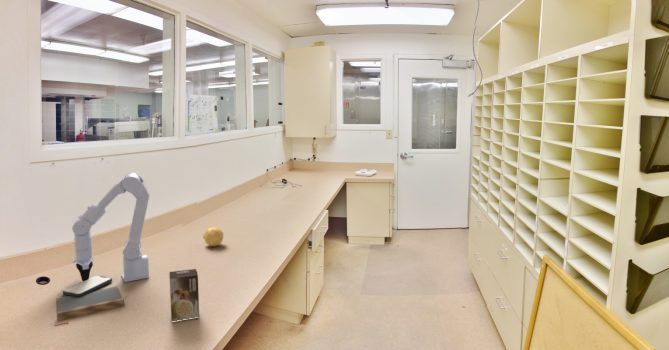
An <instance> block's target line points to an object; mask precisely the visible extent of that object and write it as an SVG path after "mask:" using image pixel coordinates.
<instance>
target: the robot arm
mask: <svg viewBox="0 0 669 350" xmlns="http://www.w3.org/2000/svg"><path fill="white" fill-rule="evenodd" d="M146 186H147V185H146V184H145V182H144V179H143V178H142V177H141V176H140V175H139V174H138V173H135V172H130V173H127V174H126V175H124V177H123V178H121V179H120V180H119V181H117V183H115V184H114V185H113V186H112V188H110V190H108V192H107V193H106V194H105V195H104V196H103V197H102V198H101V200H99V202H97V203H92V204H91V205H88V206H87V208H86V209H87V210H85V212H84V213H83V214H81V215H79V216H78V219H77V220H76V221H75V222H74V223H73V225H72V229H71V230H72V232H73V234H74V253H75V254H74V256H75V259H72V264H75V263H76V264H75V267H76V268H77V270H78V272H79V274H80V279H81V282H83V281H85V280H88V279H90V275H91V270H92V268H93V266H94V263H93V261H94V257H93V247H92V246H93V245H92V234H91V228H92V227H93V226H94V225H95V224H96V223H97V222H98V221H99V220H100V219H101V218H102V217H103V216H104V215H105V214H106V208H107V206H109V204H110V203H112V202H113V201H114V200H115V199H116V198H117V196H119V195H122V194H125V193H126V192H128V193H130V194H131V195H133V197H134V198H135V199H136V201H135V204H134V205H135V206H134V211H133V216H132V219H131V224H130V229H129V234H128V235H129V236H128V239H127V240H126V242H125V244H124V248H123V250H122V255H123V256H122V266H123V267H122V268H123V274H122V273H121V278H122V280H123V282H124V283H128V282H132V281H133V282H134V281H137V280H144V279H149V278H150V275H149V274H150V270H149V267H150V266H149V265H150V264H149V257H148V255H147V254H143V253H142V252H141V248H142V243H141V237H142V232H143V227H144V224H145V223H144V222H145V218H146V214H147V208H148V204H149V200H150V199H149V198H150V193H149V190H148V188H147V187H146Z"/></svg>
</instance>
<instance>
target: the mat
mask: <svg viewBox="0 0 669 350" xmlns="http://www.w3.org/2000/svg"><path fill="white" fill-rule="evenodd" d="M120 298H123V297H122V295H121V292H120V289H119V288H118V286H112V287H107V288H101V289H96V290H94V291H92V292H90V293H88V294H86V295H83V296H81V297H73V296H68V295H64V296H62V297H61V296H60V297H56V309H57V310H56V311H57V312H59V311H63V310H68V309H73V308H77V307H82V306H87V305H91V304H96V303H101V302H106V301H110V300H115V299H120Z"/></svg>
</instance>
